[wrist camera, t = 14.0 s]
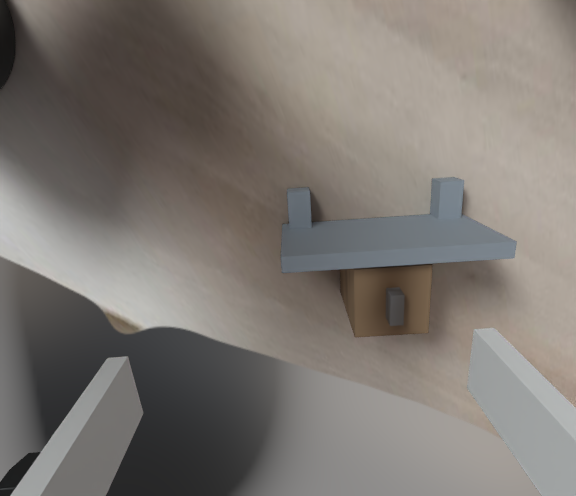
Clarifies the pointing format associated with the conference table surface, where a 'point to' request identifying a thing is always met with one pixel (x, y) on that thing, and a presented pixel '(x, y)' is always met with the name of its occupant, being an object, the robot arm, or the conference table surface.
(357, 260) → the wall board
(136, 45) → the conference table surface
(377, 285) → the cabinet block
